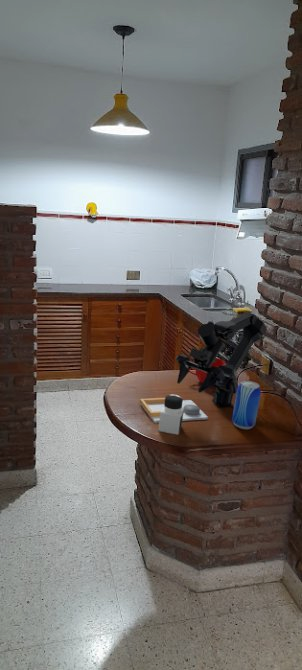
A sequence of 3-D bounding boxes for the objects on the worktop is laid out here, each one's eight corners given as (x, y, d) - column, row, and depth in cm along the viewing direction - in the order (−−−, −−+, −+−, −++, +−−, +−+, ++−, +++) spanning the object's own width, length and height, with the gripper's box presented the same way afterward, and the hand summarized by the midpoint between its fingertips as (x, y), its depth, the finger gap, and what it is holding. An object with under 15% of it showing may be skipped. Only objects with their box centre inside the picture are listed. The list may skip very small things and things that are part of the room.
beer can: (249, 432, 174) (257, 391, 169) (227, 424, 178) (234, 384, 173) (257, 424, 181) (265, 384, 176) (236, 417, 185) (243, 377, 180)
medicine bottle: (178, 435, 166) (183, 402, 163) (158, 431, 167) (162, 398, 164) (181, 426, 173) (185, 394, 170) (161, 422, 174) (165, 391, 171)
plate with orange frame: (190, 401, 194) (191, 396, 193) (207, 419, 181) (208, 413, 180) (139, 404, 186) (140, 398, 186) (152, 422, 173) (153, 416, 172)
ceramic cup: (181, 376, 220) (183, 355, 218) (216, 377, 224) (220, 356, 221) (188, 387, 208) (191, 365, 205) (226, 388, 212) (229, 366, 209)
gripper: (182, 332, 177) (159, 367, 172) (225, 347, 166) (202, 384, 161) (192, 349, 185) (170, 383, 180) (234, 364, 174) (212, 400, 169)
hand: (188, 387), depth 172 cm, fingers open, 9 cm apart
